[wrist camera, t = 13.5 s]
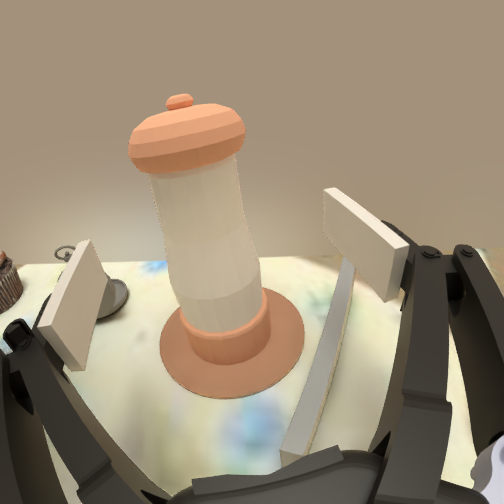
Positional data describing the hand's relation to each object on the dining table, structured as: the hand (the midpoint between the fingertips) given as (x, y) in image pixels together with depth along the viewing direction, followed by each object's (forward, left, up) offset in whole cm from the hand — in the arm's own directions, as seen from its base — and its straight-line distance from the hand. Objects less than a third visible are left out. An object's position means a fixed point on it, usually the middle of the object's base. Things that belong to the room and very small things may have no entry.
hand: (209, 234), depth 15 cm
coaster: (-2, +3, -12) cm, 13 cm away
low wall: (+7, +2, -12) cm, 14 cm away
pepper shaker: (-2, +3, -12) cm, 12 cm away
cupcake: (-40, -6, -13) cm, 43 cm away
